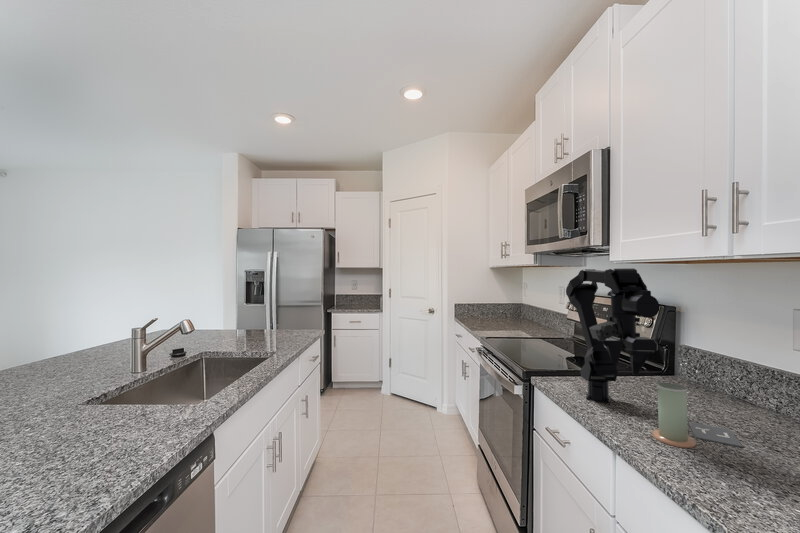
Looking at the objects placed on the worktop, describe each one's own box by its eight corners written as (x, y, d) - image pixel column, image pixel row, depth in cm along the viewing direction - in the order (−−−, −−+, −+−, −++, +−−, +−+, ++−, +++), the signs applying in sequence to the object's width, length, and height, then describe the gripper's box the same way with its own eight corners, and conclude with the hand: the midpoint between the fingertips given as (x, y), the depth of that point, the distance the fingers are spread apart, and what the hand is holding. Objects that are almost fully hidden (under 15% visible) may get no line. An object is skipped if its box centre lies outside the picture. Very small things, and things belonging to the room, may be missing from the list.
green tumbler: (660, 429, 84) (659, 380, 85) (689, 436, 81) (688, 386, 81) (656, 436, 81) (655, 386, 81) (686, 444, 77) (685, 391, 77)
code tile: (688, 422, 89) (688, 421, 89) (729, 430, 85) (729, 428, 85) (695, 438, 81) (695, 436, 81) (741, 447, 77) (741, 445, 77)
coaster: (651, 428, 86) (651, 426, 86) (692, 436, 82) (692, 434, 82) (654, 441, 79) (654, 439, 79) (698, 451, 75) (698, 448, 75)
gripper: (577, 309, 104) (578, 360, 103) (612, 317, 85) (613, 379, 85) (615, 309, 103) (616, 361, 103) (658, 317, 84) (659, 380, 84)
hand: (624, 369), depth 93 cm, fingers open, 9 cm apart
